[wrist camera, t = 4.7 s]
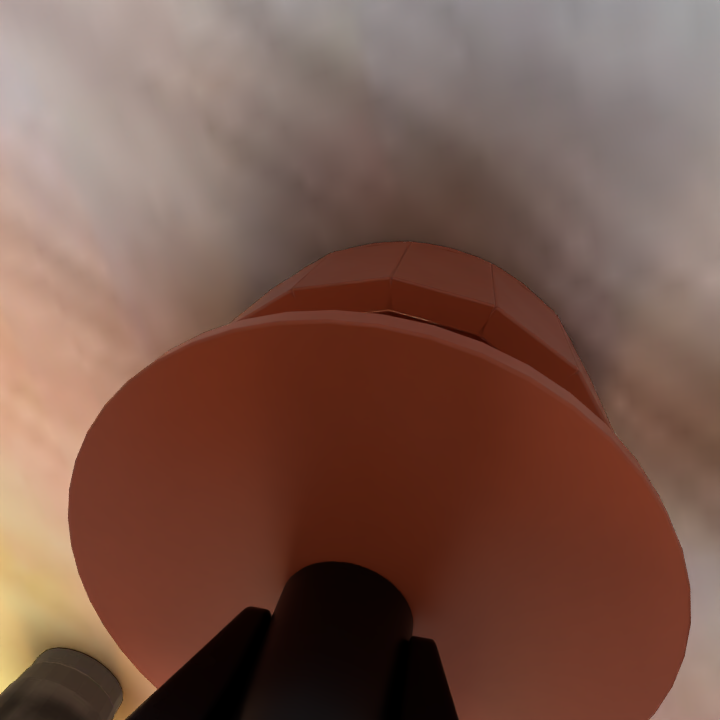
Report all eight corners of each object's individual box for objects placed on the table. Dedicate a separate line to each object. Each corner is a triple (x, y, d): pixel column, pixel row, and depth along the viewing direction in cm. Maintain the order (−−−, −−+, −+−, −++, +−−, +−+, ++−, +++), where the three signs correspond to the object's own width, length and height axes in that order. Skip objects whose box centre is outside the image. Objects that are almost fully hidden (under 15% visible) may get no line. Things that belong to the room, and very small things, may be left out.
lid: (688, 254, 7) (1089, 501, 2) (655, 770, 11) (782, 1223, 7) (19, 330, 10) (-385, 514, 5) (191, 722, 14) (51, 1018, 9)
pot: (585, 213, 13) (627, 248, 9) (588, 552, 16) (619, 667, 13) (197, 266, 15) (115, 309, 12) (279, 548, 19) (235, 644, 16)
